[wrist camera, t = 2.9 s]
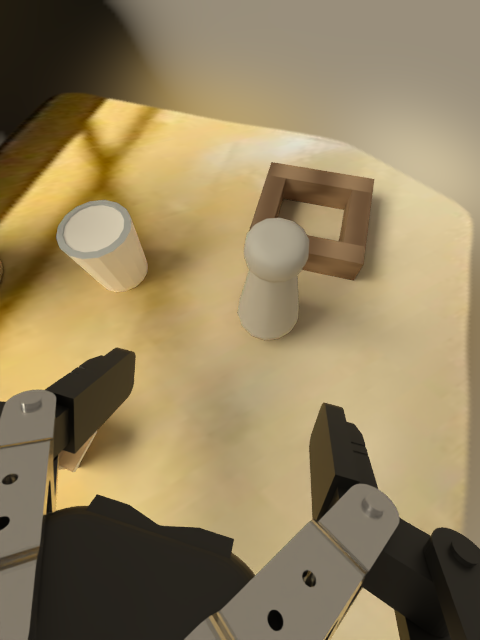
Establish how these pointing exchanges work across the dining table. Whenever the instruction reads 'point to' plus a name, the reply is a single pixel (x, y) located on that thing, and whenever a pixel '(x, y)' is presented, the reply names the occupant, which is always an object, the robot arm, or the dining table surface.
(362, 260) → the socket
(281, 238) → the salt shaker
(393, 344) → the dining table surface
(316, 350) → the dining table surface
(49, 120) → the dining table surface
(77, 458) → the architectural model
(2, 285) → the dining table surface
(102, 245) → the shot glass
